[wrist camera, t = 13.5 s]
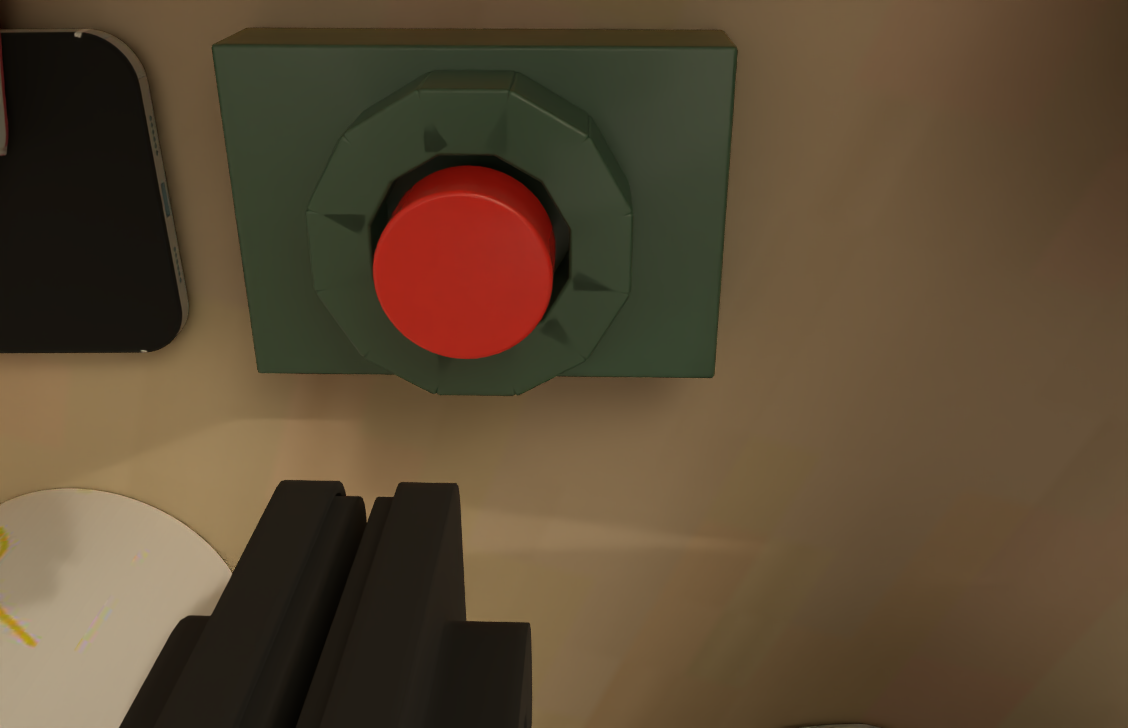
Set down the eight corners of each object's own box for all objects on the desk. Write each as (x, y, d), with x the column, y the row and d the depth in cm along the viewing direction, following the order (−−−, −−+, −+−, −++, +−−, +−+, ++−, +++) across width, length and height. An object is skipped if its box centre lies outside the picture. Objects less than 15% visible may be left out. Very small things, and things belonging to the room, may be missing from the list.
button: (394, 322, 21) (379, 360, 19) (382, 162, 19) (364, 190, 18) (556, 323, 21) (553, 361, 19) (555, 164, 19) (552, 192, 18)
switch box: (283, 333, 25) (231, 414, 21) (244, 27, 22) (175, 61, 18) (704, 337, 25) (724, 420, 21) (724, 29, 22) (752, 63, 18)
